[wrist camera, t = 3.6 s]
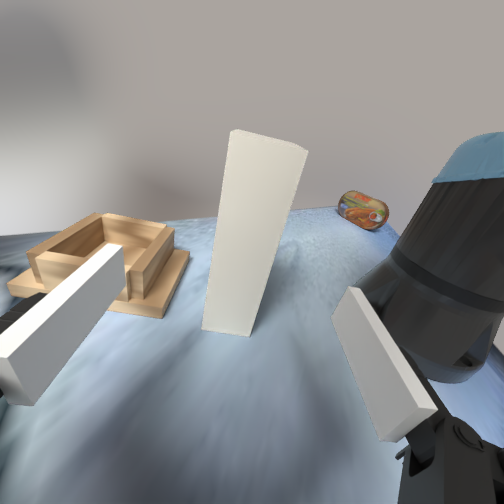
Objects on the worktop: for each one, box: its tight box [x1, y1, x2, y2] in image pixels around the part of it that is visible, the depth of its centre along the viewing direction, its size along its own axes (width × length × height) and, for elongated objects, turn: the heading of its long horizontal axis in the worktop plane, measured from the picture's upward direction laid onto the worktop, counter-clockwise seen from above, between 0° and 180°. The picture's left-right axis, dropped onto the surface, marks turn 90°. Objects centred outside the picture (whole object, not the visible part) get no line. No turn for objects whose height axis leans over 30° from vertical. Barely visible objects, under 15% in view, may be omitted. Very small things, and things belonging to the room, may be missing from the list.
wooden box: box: [6, 213, 190, 319], centre depth 25 cm, size 14×11×5 cm
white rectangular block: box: [201, 129, 308, 337], centre depth 21 cm, size 5×6×18 cm
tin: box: [338, 191, 389, 230], centre depth 64 cm, size 15×3×8 cm, turn 29°
